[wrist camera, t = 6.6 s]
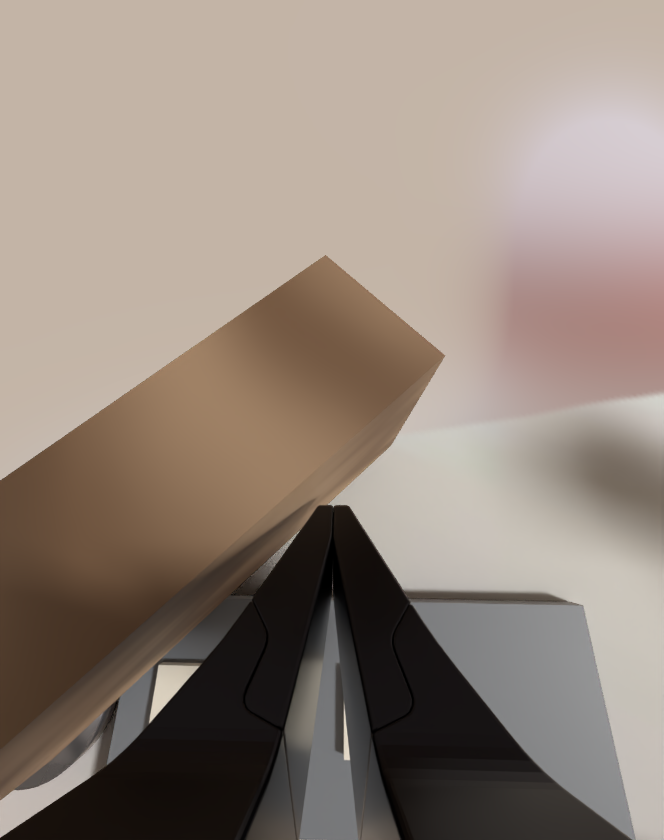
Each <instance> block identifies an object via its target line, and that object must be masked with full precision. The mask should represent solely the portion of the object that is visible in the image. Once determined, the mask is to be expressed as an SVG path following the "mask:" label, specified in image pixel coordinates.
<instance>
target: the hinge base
mask: <svg viewBox="0 0 664 840" xmlns="http://www.w3.org/2000/svg"><path fill="white" fill-rule="evenodd" d="M116 702H117V700H116V701H115V702H114V703H113V704H112V705H111V706H109V707H108V708H107V709H106V710H105V711H104V712H103V713H102V714H101V715H100V716H99V717H98V718H97V719H95V720H94V721H93V722H92V723H91V724H90V725H89V726H88V727H87V728H86V729H85V730H84V731H83V732H81V733H80V734H79V735H78V736H77V737H76V738H75V739H74V740H73V741H72V742H71V743H70V744H69V745H67V746H66V747H65V748H64V749H63V750H62V751H61V752H60V753H59V754H58V755H57V756H56V757H54V758H53V759H52V760H51V761H50V762H48V763H47V764H46V765H45V766H43V767H42V768H41V769H39V770H38V771H37V772H36V773H34V774H33V775H32V776H31V777H29V778H28V779H27V780H25V781H24V782H23V783H22V784H20V785H19V786H18V787H17V788H15V789H14V790H24V789H30V788H34V787H37V786H40V785H42V784H44V783H47V782H49V781H50V780H52V779H54V778H55V777H57V776H58V775H60V774H61V773H62V772H63V771H65V770H66V769H67V768H68V767H70V766H71V765H72V764H73V763H74V762H75V761H76V760H78V759H79V758H80V757H81V756H82V755H83V754H84V753H85V752H86V751H88V750H89V749H90V748H91V747H92V745H93V744H94V743H95V742H96V741H97V739H98V738H99V737H100V735H101V734H102V732H103V731H104V729H105V728H106V726H107V724H108V722H109V720H110V718H111V716H112V714H113V711H114V709H115V706H116Z"/></svg>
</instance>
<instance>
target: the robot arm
mask: <svg viewBox="0 0 664 840" xmlns="http://www.w3.org/2000/svg"><path fill="white" fill-rule="evenodd" d="M332 584H333V600H334V610H335V620H336V629H337V639H338V649H339V658H340V668H341V678H342V687H343V697H344V707H345V716H346V726H347V736H348V745H349V755H350V765H351V774H352V784H353V794H354V803H355V813H356V823H357V832H358V840H632V839H631V838H630V837H628V836H627V835H626V834H624V833H623V832H622V831H620V830H619V829H618V828H616V827H615V826H614V825H612V824H611V823H610V822H608V821H607V820H606V819H604V818H603V817H602V816H600V815H599V814H598V813H596V812H595V811H594V810H592V809H591V808H590V807H588V806H587V805H585V804H584V803H583V802H581V801H580V800H579V799H577V798H576V797H575V796H573V795H572V794H571V793H569V792H568V791H567V790H566V789H564V788H563V787H562V786H561V785H559V784H558V783H557V782H556V781H555V780H554V779H552V778H551V777H550V776H549V775H548V774H547V773H546V772H545V771H544V770H543V769H542V768H541V767H540V766H539V765H538V764H537V763H536V762H535V761H534V760H533V759H532V758H531V757H530V756H529V755H528V754H527V753H526V752H525V751H524V750H523V749H522V747H521V746H520V745H519V744H518V743H517V741H516V740H515V739H514V738H513V736H512V735H511V734H510V733H509V732H508V730H507V729H506V728H505V727H504V725H503V724H502V723H501V722H500V720H499V719H498V718H497V717H496V715H495V714H494V713H493V712H492V710H491V709H490V708H489V707H488V705H487V704H486V703H485V702H484V700H483V699H482V698H481V697H480V695H479V694H478V693H477V692H476V690H475V689H474V688H473V687H472V685H471V684H470V683H469V682H468V680H467V679H466V678H465V677H464V675H463V674H462V673H461V672H460V670H459V669H458V668H457V667H456V665H455V664H454V663H453V661H452V660H451V659H450V657H449V656H448V655H447V654H446V652H445V651H444V650H443V648H442V647H441V646H440V644H439V643H438V642H437V640H436V639H435V637H434V636H433V634H432V633H431V632H430V630H429V629H428V627H427V626H426V624H425V623H424V621H423V620H422V618H421V617H420V615H419V614H418V612H417V611H416V609H415V607H414V606H413V605H412V604H411V602H410V600H409V598H408V597H407V595H406V594H405V592H404V591H403V589H402V587H401V586H400V584H399V583H398V581H397V580H396V578H395V577H394V575H393V573H392V572H391V570H390V569H389V567H388V566H387V564H386V563H385V561H384V559H383V558H382V556H381V555H380V553H379V552H378V550H377V549H376V547H375V546H374V544H373V542H372V541H371V539H370V538H369V536H368V535H367V533H366V532H365V530H364V528H363V527H362V525H361V524H360V522H359V521H358V519H357V518H356V516H355V514H354V513H353V511H352V510H351V508H350V507H349V506H347V505H335V506H334V510H333V506H332V505H319V506H317V508H316V509H315V510H314V512H313V513H312V515H311V516H310V517H309V519H308V520H307V522H306V523H305V525H304V526H303V527H302V529H301V530H300V532H299V533H298V534H297V536H296V537H295V539H294V540H293V542H292V543H291V544H290V546H289V547H288V549H287V550H286V551H285V553H284V554H283V556H282V557H281V558H280V560H279V561H278V563H277V564H276V566H275V567H274V568H273V570H272V571H271V573H270V574H269V575H268V577H267V578H266V580H265V581H264V582H263V584H262V585H261V587H260V588H259V590H258V591H257V592H256V594H255V595H254V597H253V598H252V601H251V602H249V603H248V605H247V606H246V608H245V609H244V611H243V612H242V613H241V615H240V616H239V618H238V619H237V620H236V622H235V623H234V624H233V626H232V627H231V628H230V629H229V631H228V632H227V633H226V635H225V636H224V637H223V639H222V640H221V641H220V642H219V643H218V645H217V646H216V647H215V648H214V649H213V651H212V652H211V653H210V654H209V655H208V657H207V658H206V659H205V660H204V661H203V663H202V664H201V665H200V666H199V667H198V668H197V669H196V671H195V672H194V673H193V674H192V675H191V676H190V677H189V679H188V680H187V681H186V682H185V683H184V684H183V685H182V687H181V688H180V689H179V690H178V691H177V692H176V693H175V695H174V696H173V697H172V698H171V699H170V700H169V701H168V703H167V704H166V705H165V706H164V707H163V708H162V710H161V711H160V712H159V713H158V714H157V715H156V716H155V718H154V719H153V720H152V721H151V722H150V723H149V724H148V726H147V727H146V728H145V729H144V730H143V731H142V732H141V733H140V734H139V736H138V737H137V738H136V739H135V740H134V741H133V742H132V743H131V744H130V745H129V746H128V747H127V748H126V749H125V750H124V751H123V752H121V753H120V754H119V755H118V756H117V757H116V758H115V759H114V760H112V761H111V762H110V763H109V764H108V765H106V766H105V767H104V768H103V769H101V770H100V771H99V772H98V773H96V774H95V775H93V776H92V777H90V778H89V779H87V780H86V781H84V782H83V783H81V784H80V785H78V786H77V787H75V788H74V789H73V790H71V791H70V792H68V793H67V794H65V795H64V796H62V797H61V798H59V799H58V800H56V801H55V802H53V803H52V804H50V805H49V806H47V807H46V808H44V809H43V810H41V811H40V812H38V813H37V814H35V815H34V816H32V817H31V818H29V819H28V820H26V821H25V822H23V823H22V824H20V825H19V826H17V827H16V828H14V829H13V830H11V831H10V832H8V833H7V834H5V835H4V836H2V837H1V838H0V840H299V837H300V829H301V822H302V815H303V807H304V800H305V792H306V785H307V777H308V770H309V762H310V755H311V748H312V740H313V733H314V725H315V718H316V710H317V703H318V695H319V688H320V681H321V673H322V666H323V658H324V651H325V643H326V636H327V628H328V621H329V614H330V606H331V598H332Z"/></svg>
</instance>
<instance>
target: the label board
mask: <svg viewBox="0 0 664 840" xmlns="http://www.w3.org/2000/svg"><path fill="white" fill-rule="evenodd" d="M253 597H254V596H240V595H229V596H228V597H227V598H226V599H225V600H224V601H223V602H222V603H221V604H220V605H218V606H217V607H216V608H215V609H214V610H213V611H212V612H211V613H210V614H209V615H208V616H207V617H205V618H204V619H203V620H202V621H201V622H200V623H199V624H198V625H197V626H196V627H195V628H194V629H193V630H191V631H190V632H189V633H188V634H187V635H186V636H185V637H184V638H183V639H182V640H181V641H180V642H179V643H177V644H176V645H175V646H174V647H173V648H172V649H171V650H170V651H169V652H168V653H167V654H166V655H165V656H163V657H162V658H161V659H160V660H159V661H158V662H157V663H156V664H155V665H154V666H153V667H152V668H150V669H149V670H148V671H147V672H146V673H145V674H144V675H143V676H142V677H141V678H140V679H139V680H138V681H136V682H135V683H134V684H133V685H132V686H131V687H130V688H129V689H128V690H127V691H126V692H125V693H124V694H122V695H121V696H120V699H119V704H118V709H117V714H116V719H115V724H114V730H113V735H112V740H111V745H110V750H109V755H108V760H107V765H108V764H109V763H110V762H111V761H112V760H114V759H115V758H116V757H117V756H118V755H119V754H120V753H121V752H123V751H124V750H125V749H126V748H127V747H128V746H129V745H130V744H131V743H132V742H133V741H134V740H135V739H136V738H137V737H138V736H139V734H140V733H141V732H142V731H143V730H144V729H145V728H146V727H147V726H148V724H149V723H150V722H151V721H152V720H153V719H154V718H155V716H156V715H157V714H158V713H159V712H160V711H161V710H162V708H163V707H164V706H165V705H166V704H167V703H168V701H169V700H170V699H171V698H172V697H173V696H174V695H175V693H176V692H177V691H178V690H179V689H180V688H181V687H182V685H183V684H184V683H185V682H186V681H187V680H188V679H189V677H190V676H191V675H192V674H193V673H194V672H195V671H196V669H197V668H198V667H199V666H200V665H201V664H202V663H203V661H204V660H205V659H206V658H207V657H208V655H209V654H210V653H211V652H212V651H213V649H214V648H215V647H216V646H217V645H218V643H219V642H220V641H221V640H222V639H223V637H224V636H225V635H226V633H227V632H228V631H229V629H230V628H231V627H232V626H233V624H234V623H235V622H236V620H237V619H238V618H239V616H240V615H241V613H242V612H243V611H244V609H245V608H246V606H247V605H248V603H249V602H251V601H252V598H253ZM409 600H410V602H411V604H412V605H413V606H414V607H415V609H416V611H417V612H418V614H419V615H420V617H421V618H422V620H423V621H424V623H425V624H426V626H427V627H428V629H429V630H430V632H431V633H432V634H433V636H434V637H435V639H436V640H437V642H438V643H439V644H440V646H441V647H442V648H443V650H444V651H445V652H446V654H447V655H448V656H449V657H450V659H451V660H452V661H453V663H454V664H455V665H456V667H457V668H458V669H459V670H460V672H461V673H462V674H463V675H464V677H465V678H466V679H467V680H468V682H469V683H470V684H471V685H472V687H473V688H474V689H475V690H476V692H477V693H478V694H479V695H480V697H481V698H482V699H483V700H484V702H485V703H486V704H487V705H488V707H489V708H490V709H491V710H492V712H493V713H494V714H495V715H496V717H497V718H498V719H499V720H500V722H501V723H502V724H503V725H504V727H505V728H506V729H507V730H508V732H509V733H510V734H511V735H512V736H513V738H514V739H515V740H516V741H517V743H518V744H519V745H520V746H521V747H522V749H523V750H524V751H525V752H526V753H527V754H528V755H529V756H530V757H531V758H532V759H533V760H534V761H535V762H536V763H537V764H538V765H539V766H540V767H541V768H542V769H543V770H544V771H545V772H546V773H547V774H548V775H549V776H550V777H551V778H552V779H554V780H555V781H556V782H557V783H558V784H559V785H561V786H562V787H563V788H564V789H566V790H567V791H568V792H569V793H571V794H572V795H573V796H575V797H576V798H577V799H579V800H580V801H581V802H583V803H584V804H585V805H587V806H588V807H590V808H591V809H592V810H594V811H595V812H596V813H598V814H599V815H600V816H602V817H603V818H604V819H606V820H607V821H608V822H610V823H611V824H612V825H614V826H615V827H616V828H618V829H619V830H620V831H622V832H623V833H624V834H626V835H627V836H628V837H630V838H631V839H632V840H636V839H635V835H634V830H633V826H632V821H631V817H630V812H629V808H628V803H627V799H626V794H625V790H624V786H623V781H622V777H621V772H620V768H619V763H618V759H617V754H616V750H615V746H614V741H613V737H612V732H611V728H610V723H609V719H608V714H607V710H606V705H605V701H604V697H603V692H602V688H601V683H600V679H599V674H598V670H597V665H596V661H595V656H594V652H593V648H592V643H591V639H590V634H589V630H588V625H587V621H586V616H585V612H584V607H583V605H579V604H576V603H572V602H557V601H504V600H451V599H409ZM299 839H303V840H358V832H357V823H356V813H355V803H354V794H353V784H352V774H351V765H350V755H349V745H348V736H347V726H346V716H345V707H344V697H343V687H342V678H341V668H340V658H339V649H338V639H337V629H336V620H335V610H334V600H333V597H332V598H331V606H330V614H329V621H328V628H327V636H326V643H325V651H324V658H323V666H322V673H321V681H320V688H319V695H318V703H317V710H316V718H315V725H314V733H313V740H312V748H311V755H310V762H309V770H308V777H307V785H306V792H305V800H304V807H303V815H302V822H301V829H300V837H299Z"/></svg>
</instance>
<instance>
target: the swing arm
mask: <svg viewBox="0 0 664 840" xmlns="http://www.w3.org/2000/svg"><path fill="white" fill-rule="evenodd" d="M444 357H445V355H444V354H442V353H441V352H440V351H439V350H438V349H437V348H435V347H434V346H433V345H432V344H431V343H429V342H428V341H427V340H426V339H425V338H424V337H422V336H421V335H420V334H419V333H418V332H416V331H415V330H414V329H413V328H412V327H410V326H409V325H408V324H407V323H406V322H405V321H403V320H402V319H401V318H400V317H399V316H397V315H396V314H395V313H394V312H393V311H391V310H390V309H389V308H388V307H387V306H385V305H384V304H383V303H382V302H381V301H380V300H378V299H377V298H376V297H375V296H374V295H372V294H371V293H370V292H369V291H368V290H366V289H365V288H364V287H363V286H362V285H360V284H359V283H358V282H357V281H356V280H355V279H353V278H352V277H351V276H350V275H349V274H347V273H346V272H345V271H344V270H342V269H341V268H340V267H339V266H338V265H337V264H336V263H334V262H333V261H332V260H331V259H329V258H328V257H327V256H326V255H325V256H324V257H322V258H321V259H319V260H318V261H316V262H315V263H313V264H312V265H311V266H309V267H308V268H306V269H305V270H303V271H302V272H300V273H299V274H298V275H296V276H295V277H293V278H292V279H290V280H289V281H288V282H286V283H285V284H283V285H282V286H281V287H279V288H277V289H276V290H275V291H273V292H272V293H270V294H269V295H267V296H266V297H265V298H263V299H262V300H260V301H259V302H257V303H256V304H254V305H253V306H251V307H250V308H249V309H247V310H246V311H244V312H243V313H242V314H240V315H239V316H237V317H236V318H234V319H233V320H231V321H230V322H228V323H227V324H225V325H224V326H223V327H221V328H220V329H218V330H217V331H216V332H214V333H212V334H211V335H210V336H208V337H207V338H205V339H204V340H203V341H201V342H200V343H198V344H197V345H195V346H194V347H192V348H191V349H189V350H188V351H187V352H185V353H184V354H182V355H181V356H179V357H178V358H177V359H175V360H174V361H172V362H171V363H169V364H168V365H166V366H165V367H163V368H162V369H161V370H159V371H158V372H156V373H155V374H154V375H152V376H150V377H149V378H148V379H146V380H145V381H143V382H142V383H140V384H139V385H138V386H136V387H135V388H133V389H132V390H130V391H129V392H127V393H126V394H124V395H123V396H122V397H120V398H119V399H117V400H116V401H114V402H113V403H112V404H110V405H109V406H107V407H106V408H104V409H103V410H101V411H100V412H99V413H97V414H96V415H94V416H93V417H92V418H90V419H88V420H87V421H86V422H84V423H83V424H81V425H80V426H78V427H77V428H75V429H74V430H73V431H71V432H70V433H68V434H67V435H65V436H64V437H63V438H61V439H60V440H58V441H57V442H55V443H54V444H52V445H51V446H50V447H48V448H47V449H45V450H44V451H42V452H41V453H39V454H38V455H36V456H35V457H34V458H32V459H31V460H29V461H28V462H26V463H25V464H24V465H22V466H21V467H19V468H18V469H16V470H15V471H14V472H12V473H11V474H9V475H8V476H6V477H5V478H3V479H2V480H0V800H1V799H3V798H4V797H5V796H6V795H8V794H9V793H10V792H11V791H13V790H14V789H15V788H17V787H18V786H19V785H20V784H22V783H23V782H24V781H25V780H27V779H28V778H29V777H31V776H32V775H33V774H34V773H36V772H37V771H38V770H39V769H41V768H42V767H43V766H45V765H46V764H47V763H48V762H50V761H51V760H52V759H53V758H54V757H56V756H57V755H58V754H59V753H60V752H61V751H62V750H63V749H64V748H65V747H66V746H67V745H69V744H70V743H71V742H72V741H73V740H74V739H75V738H76V737H77V736H78V735H79V734H80V733H81V732H83V731H84V730H85V729H86V728H87V727H88V726H89V725H90V724H91V723H92V722H93V721H94V720H95V719H97V718H98V717H99V716H100V715H101V714H102V713H103V712H104V711H105V710H106V709H107V708H108V707H109V706H111V705H112V704H113V703H114V702H115V701H116V700H117V699H118V698H119V697H120V696H121V695H122V694H124V693H125V692H126V691H127V690H128V689H129V688H130V687H131V686H132V685H133V684H134V683H135V682H136V681H138V680H139V679H140V678H141V677H142V676H143V675H144V674H145V673H146V672H147V671H148V670H149V669H150V668H152V667H153V666H154V665H155V664H156V663H157V662H158V661H159V660H160V659H161V658H162V657H163V656H165V655H166V654H167V653H168V652H169V651H170V650H171V649H172V648H173V647H174V646H175V645H176V644H177V643H179V642H180V641H181V640H182V639H183V638H184V637H185V636H186V635H187V634H188V633H189V632H190V631H191V630H193V629H194V628H195V627H196V626H197V625H198V624H199V623H200V622H201V621H202V620H203V619H204V618H205V617H207V616H208V615H209V614H210V613H211V612H212V611H213V610H214V609H215V608H216V607H217V606H218V605H220V604H221V603H222V602H223V601H224V600H225V599H226V598H227V597H228V596H229V595H230V594H231V593H232V592H234V591H235V590H236V589H237V588H238V587H239V586H240V585H241V584H242V583H243V582H244V581H245V580H246V579H248V578H249V577H250V576H251V575H252V574H253V573H254V572H255V571H256V570H257V569H258V568H259V567H260V566H262V565H263V564H264V563H265V562H266V561H267V560H268V559H269V558H270V557H271V556H272V555H273V554H275V553H276V552H277V551H278V550H279V549H280V548H281V547H282V546H283V545H284V544H285V543H286V542H287V541H289V540H290V539H291V538H292V537H293V536H294V535H295V534H296V533H297V532H298V531H299V530H300V529H301V528H302V527H303V526H304V525H305V523H306V522H307V520H308V519H309V517H310V516H311V515H312V513H313V512H314V510H315V509H316V508H317V506H319V505H327V504H328V503H330V502H331V501H332V500H333V499H334V498H335V497H336V496H337V495H338V494H339V493H340V492H341V491H342V490H344V489H345V488H346V487H347V486H348V485H349V484H350V483H351V482H352V481H353V480H354V479H355V478H356V477H358V476H359V475H360V474H361V473H362V472H363V471H364V470H365V469H366V468H367V467H368V466H369V465H371V464H372V463H373V462H374V461H375V460H376V459H377V458H378V457H379V456H380V455H381V454H382V453H383V452H385V451H386V450H387V449H388V448H389V447H390V446H391V445H392V443H393V441H394V440H395V438H396V436H397V435H398V433H399V431H400V430H401V428H402V426H403V424H404V423H405V421H406V420H407V418H408V416H409V415H410V413H411V411H412V410H413V408H414V406H415V405H416V403H417V401H418V400H419V398H420V396H421V395H422V393H423V391H424V390H425V388H426V386H427V385H428V383H429V382H430V380H431V378H432V377H433V375H434V373H435V372H436V370H437V368H438V367H439V365H440V363H441V362H442V360H443V358H444Z"/></svg>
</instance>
